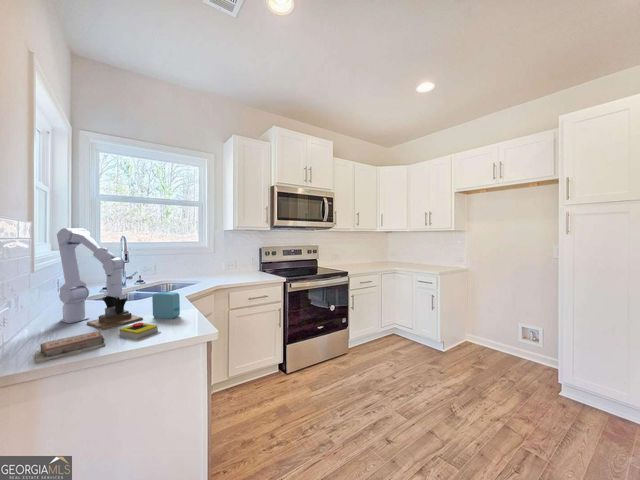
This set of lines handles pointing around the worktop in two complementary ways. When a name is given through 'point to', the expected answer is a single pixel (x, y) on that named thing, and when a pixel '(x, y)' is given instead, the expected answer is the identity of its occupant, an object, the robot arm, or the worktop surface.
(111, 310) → the servo block
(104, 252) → the robot arm
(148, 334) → the emergency button
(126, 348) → the worktop surface
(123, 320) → the dock
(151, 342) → the worktop surface
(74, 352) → the packaged product
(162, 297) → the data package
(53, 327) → the worktop surface
